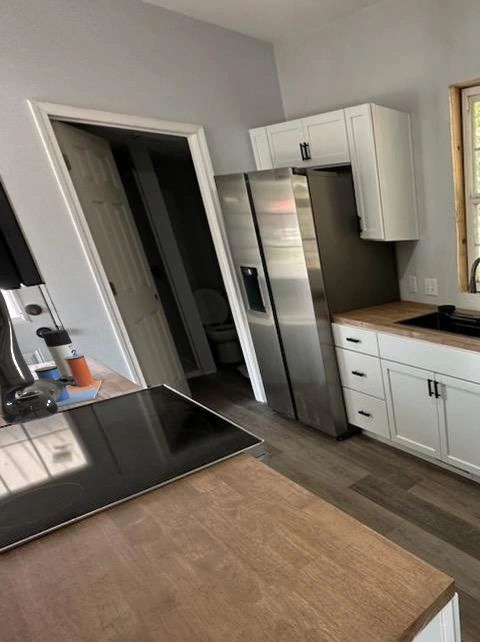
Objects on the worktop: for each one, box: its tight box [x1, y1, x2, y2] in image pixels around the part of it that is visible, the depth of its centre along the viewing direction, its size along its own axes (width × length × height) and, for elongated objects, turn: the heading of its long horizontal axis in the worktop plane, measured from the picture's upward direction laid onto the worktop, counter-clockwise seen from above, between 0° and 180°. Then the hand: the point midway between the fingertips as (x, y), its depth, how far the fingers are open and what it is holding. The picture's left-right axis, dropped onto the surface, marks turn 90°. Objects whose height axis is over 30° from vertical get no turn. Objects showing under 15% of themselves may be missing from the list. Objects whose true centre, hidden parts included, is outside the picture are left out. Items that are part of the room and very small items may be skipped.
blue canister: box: [33, 365, 70, 401], centre depth 138 cm, size 5×5×11 cm
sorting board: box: [56, 380, 103, 407], centre depth 146 cm, size 14×24×1 cm, turn 39°
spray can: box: [41, 329, 78, 377], centre depth 156 cm, size 7×7×20 cm
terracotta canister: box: [64, 354, 95, 387], centre depth 152 cm, size 5×5×11 cm
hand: (53, 380), depth 140 cm, fingers closed on blue canister, 5 cm apart
